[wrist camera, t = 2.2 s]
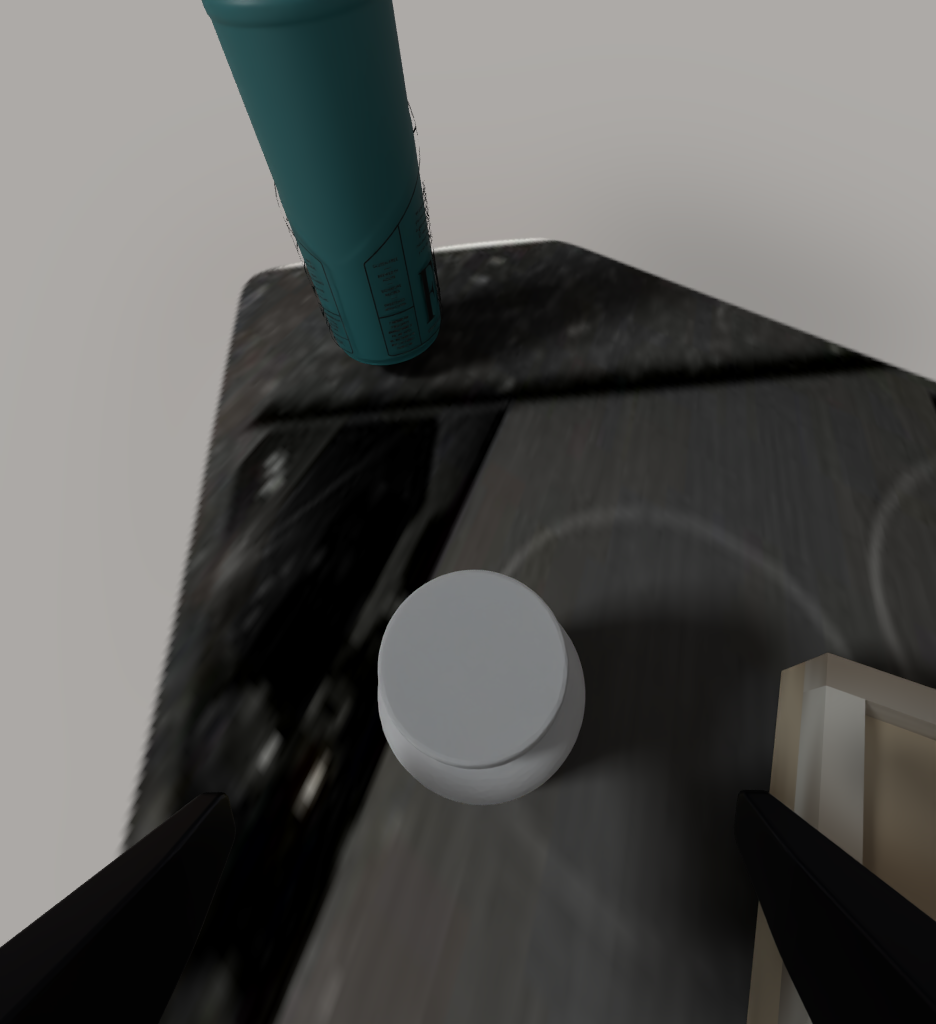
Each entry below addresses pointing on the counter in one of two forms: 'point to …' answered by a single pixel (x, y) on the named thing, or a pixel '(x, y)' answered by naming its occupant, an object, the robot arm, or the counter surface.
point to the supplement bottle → (479, 688)
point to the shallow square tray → (852, 791)
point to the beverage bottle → (341, 161)
